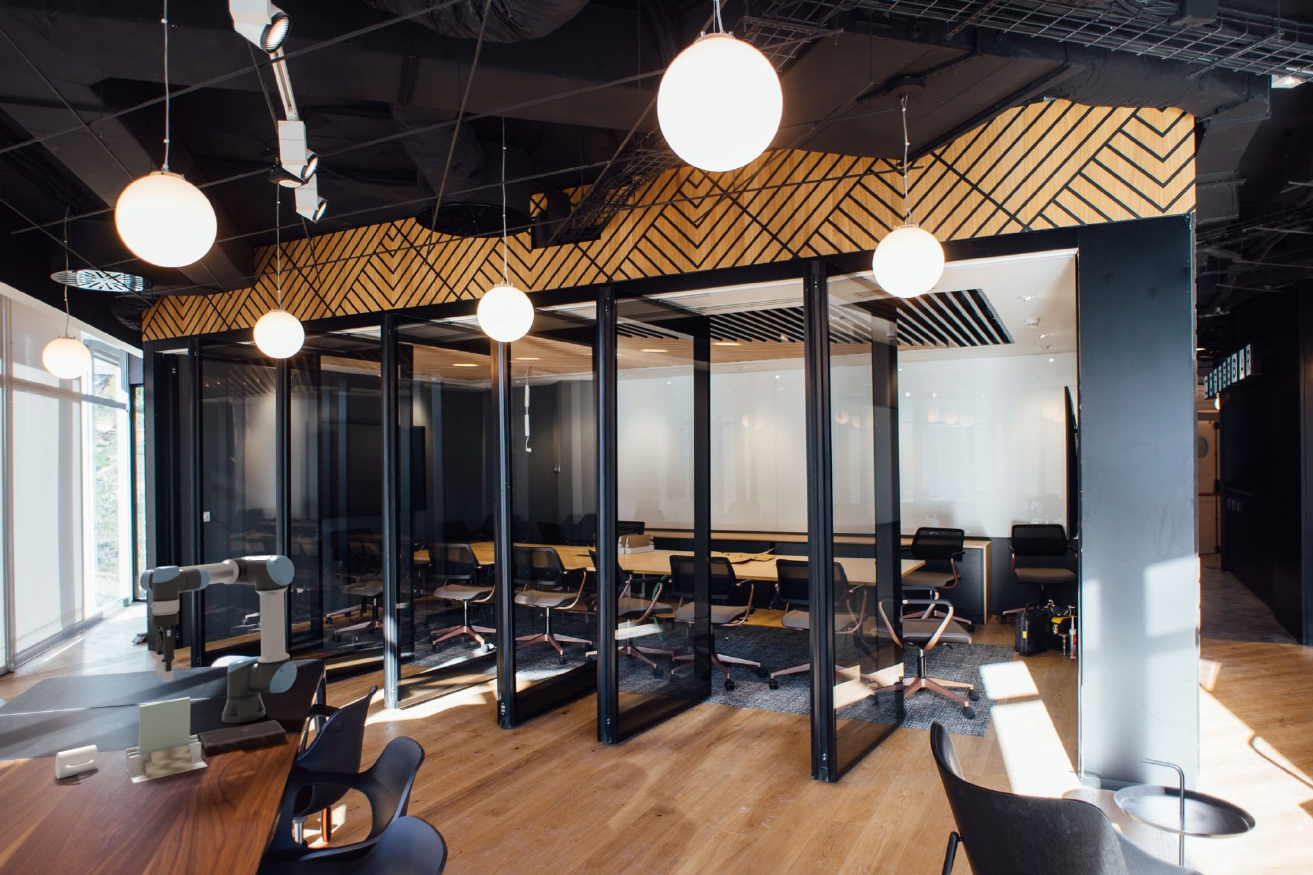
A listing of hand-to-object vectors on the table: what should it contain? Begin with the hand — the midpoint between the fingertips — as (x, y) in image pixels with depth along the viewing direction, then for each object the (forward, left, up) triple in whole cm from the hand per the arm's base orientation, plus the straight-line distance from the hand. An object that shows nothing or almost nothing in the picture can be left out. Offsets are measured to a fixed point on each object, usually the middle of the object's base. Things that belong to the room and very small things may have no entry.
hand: (164, 677), depth 251 cm
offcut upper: (-1, +9, -25) cm, 26 cm away
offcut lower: (0, +8, -28) cm, 29 cm away
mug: (+22, -11, -29) cm, 38 cm away
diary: (-25, -6, -30) cm, 39 cm away
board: (0, 0, -28) cm, 28 cm away
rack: (0, +5, -29) cm, 29 cm away
